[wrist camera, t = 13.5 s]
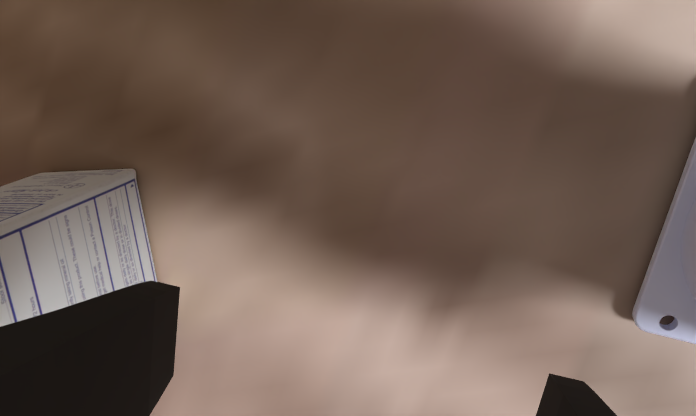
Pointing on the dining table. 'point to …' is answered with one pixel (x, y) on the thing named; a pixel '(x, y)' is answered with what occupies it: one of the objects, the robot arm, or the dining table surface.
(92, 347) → the robot arm
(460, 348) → the dining table surface
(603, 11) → the dining table surface
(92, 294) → the medicine box
